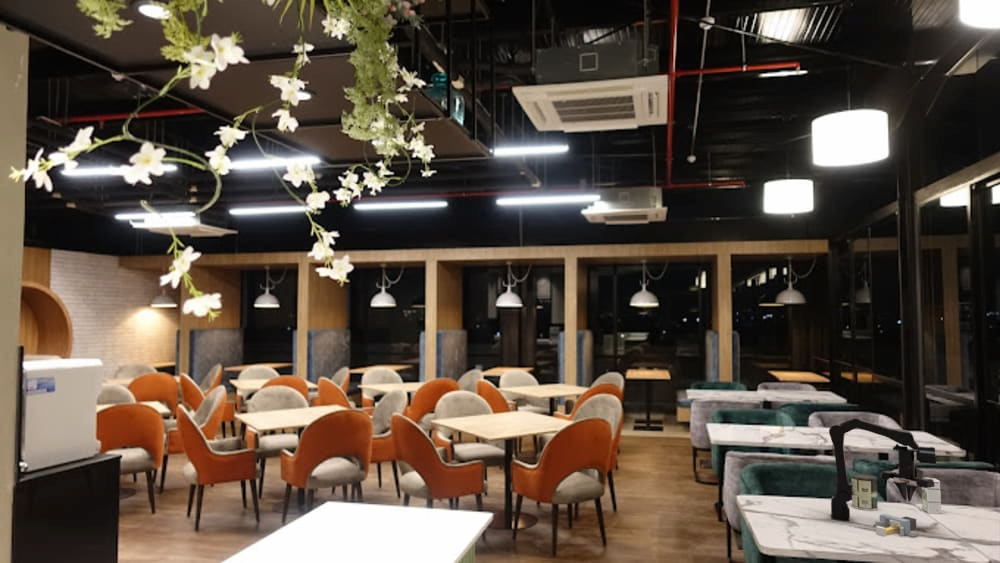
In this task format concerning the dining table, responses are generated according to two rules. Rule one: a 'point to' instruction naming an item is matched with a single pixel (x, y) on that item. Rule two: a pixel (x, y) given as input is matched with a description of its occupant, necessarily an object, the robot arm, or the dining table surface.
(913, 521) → the yellow handled hammer
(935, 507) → the syrup box
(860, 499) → the coffee can
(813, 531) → the dining table surface
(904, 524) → the blue-grey bracket
